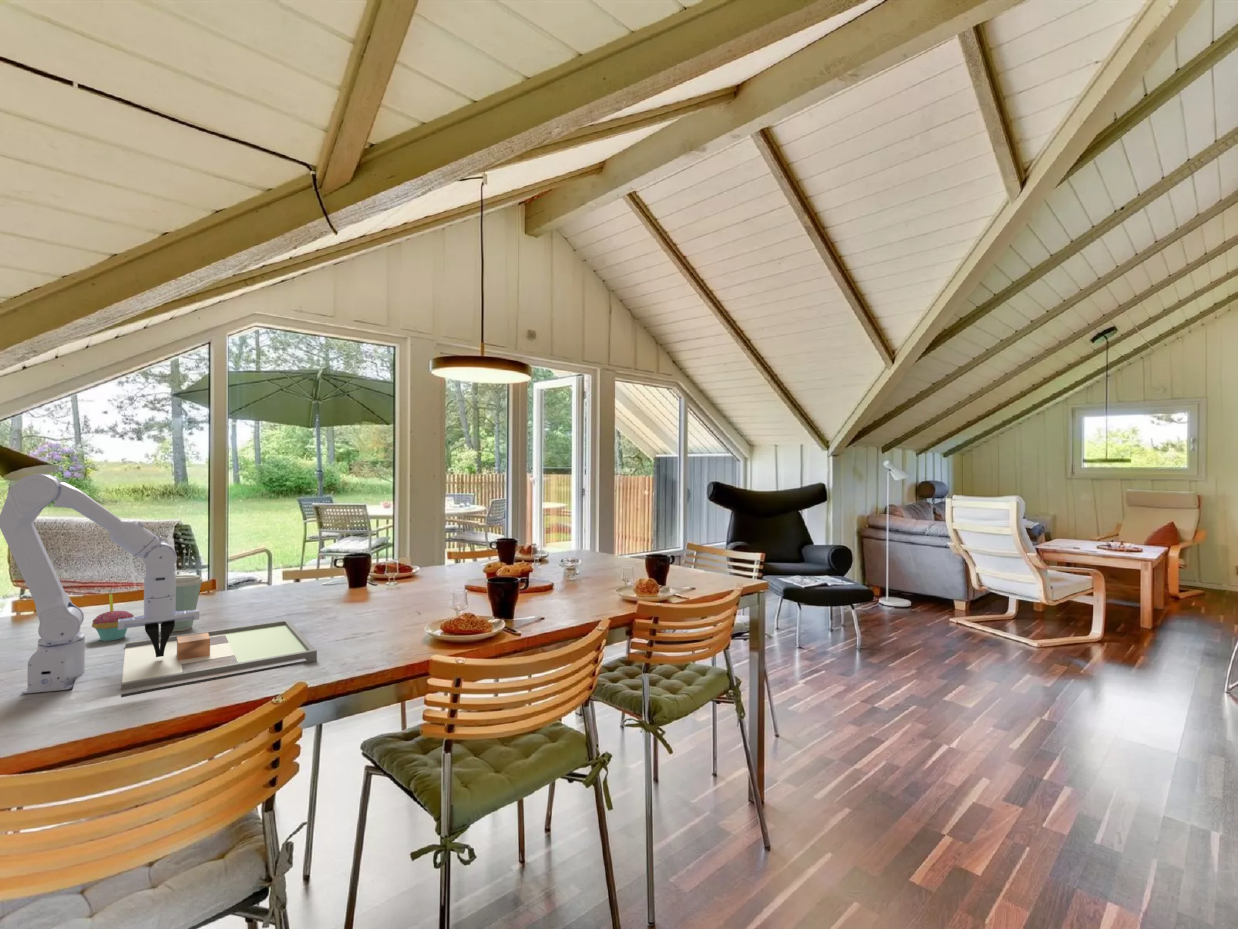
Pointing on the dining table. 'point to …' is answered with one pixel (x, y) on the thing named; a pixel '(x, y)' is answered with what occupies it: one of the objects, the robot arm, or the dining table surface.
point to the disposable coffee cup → (186, 597)
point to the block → (193, 646)
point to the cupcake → (110, 623)
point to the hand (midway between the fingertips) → (159, 655)
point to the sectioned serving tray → (216, 655)
